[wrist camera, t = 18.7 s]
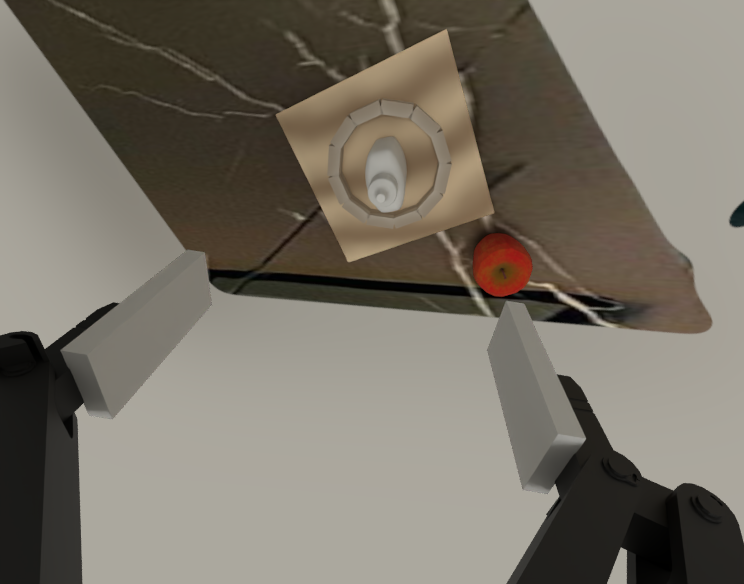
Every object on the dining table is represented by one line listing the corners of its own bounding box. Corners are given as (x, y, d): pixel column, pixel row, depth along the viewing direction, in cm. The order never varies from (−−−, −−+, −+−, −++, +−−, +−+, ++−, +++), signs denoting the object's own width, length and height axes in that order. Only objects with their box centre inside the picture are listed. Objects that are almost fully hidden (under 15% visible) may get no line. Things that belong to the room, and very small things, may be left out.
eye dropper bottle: (363, 183, 40) (345, 222, 30) (378, 130, 37) (364, 153, 27) (400, 195, 40) (395, 238, 30) (418, 144, 37) (419, 172, 27)
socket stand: (281, 112, 39) (268, 116, 35) (445, 31, 34) (448, 26, 30) (350, 255, 47) (345, 270, 44) (491, 207, 42) (497, 219, 38)
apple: (459, 234, 44) (467, 262, 38) (511, 214, 42) (527, 240, 36) (476, 276, 47) (485, 309, 40) (525, 259, 45) (543, 290, 38)
